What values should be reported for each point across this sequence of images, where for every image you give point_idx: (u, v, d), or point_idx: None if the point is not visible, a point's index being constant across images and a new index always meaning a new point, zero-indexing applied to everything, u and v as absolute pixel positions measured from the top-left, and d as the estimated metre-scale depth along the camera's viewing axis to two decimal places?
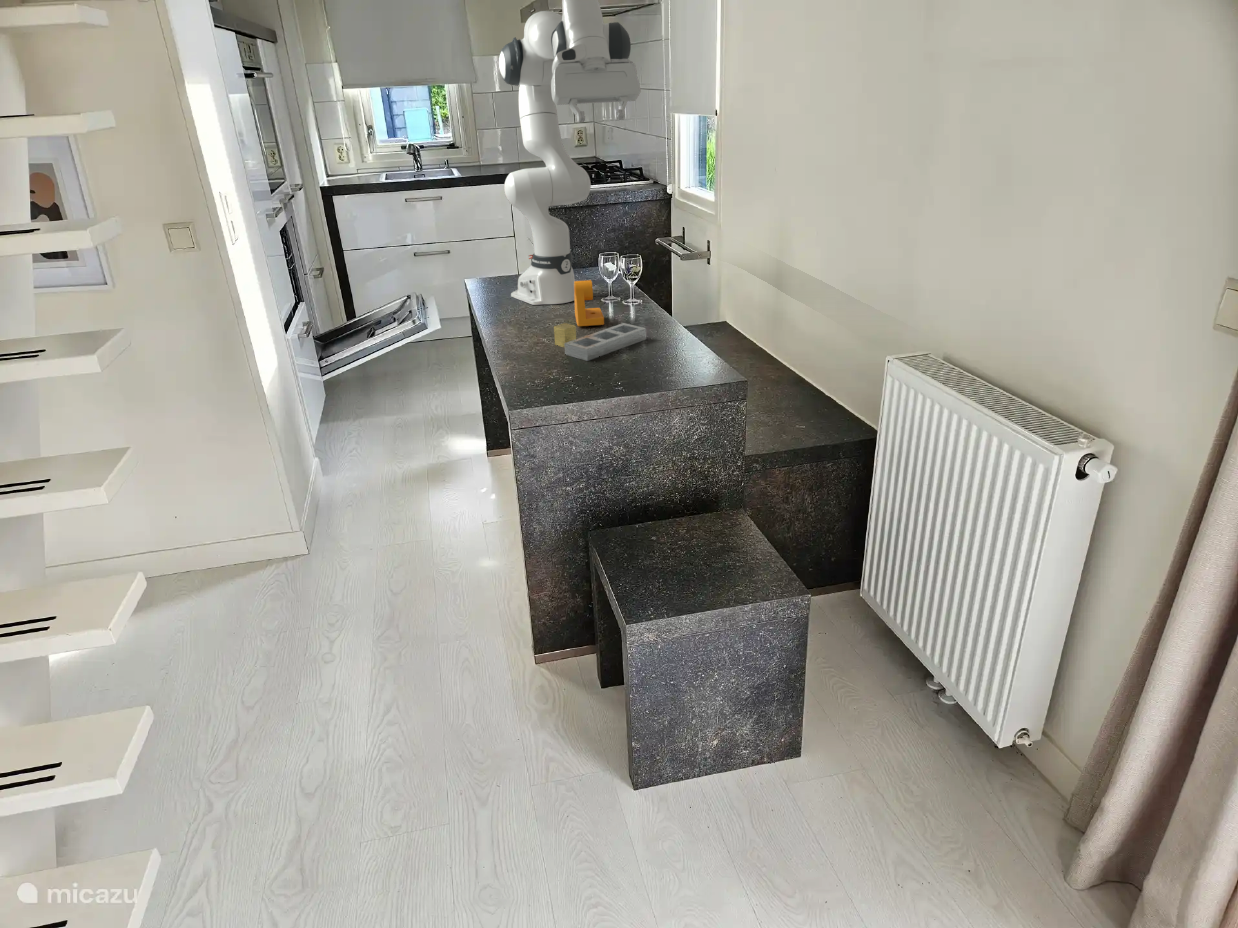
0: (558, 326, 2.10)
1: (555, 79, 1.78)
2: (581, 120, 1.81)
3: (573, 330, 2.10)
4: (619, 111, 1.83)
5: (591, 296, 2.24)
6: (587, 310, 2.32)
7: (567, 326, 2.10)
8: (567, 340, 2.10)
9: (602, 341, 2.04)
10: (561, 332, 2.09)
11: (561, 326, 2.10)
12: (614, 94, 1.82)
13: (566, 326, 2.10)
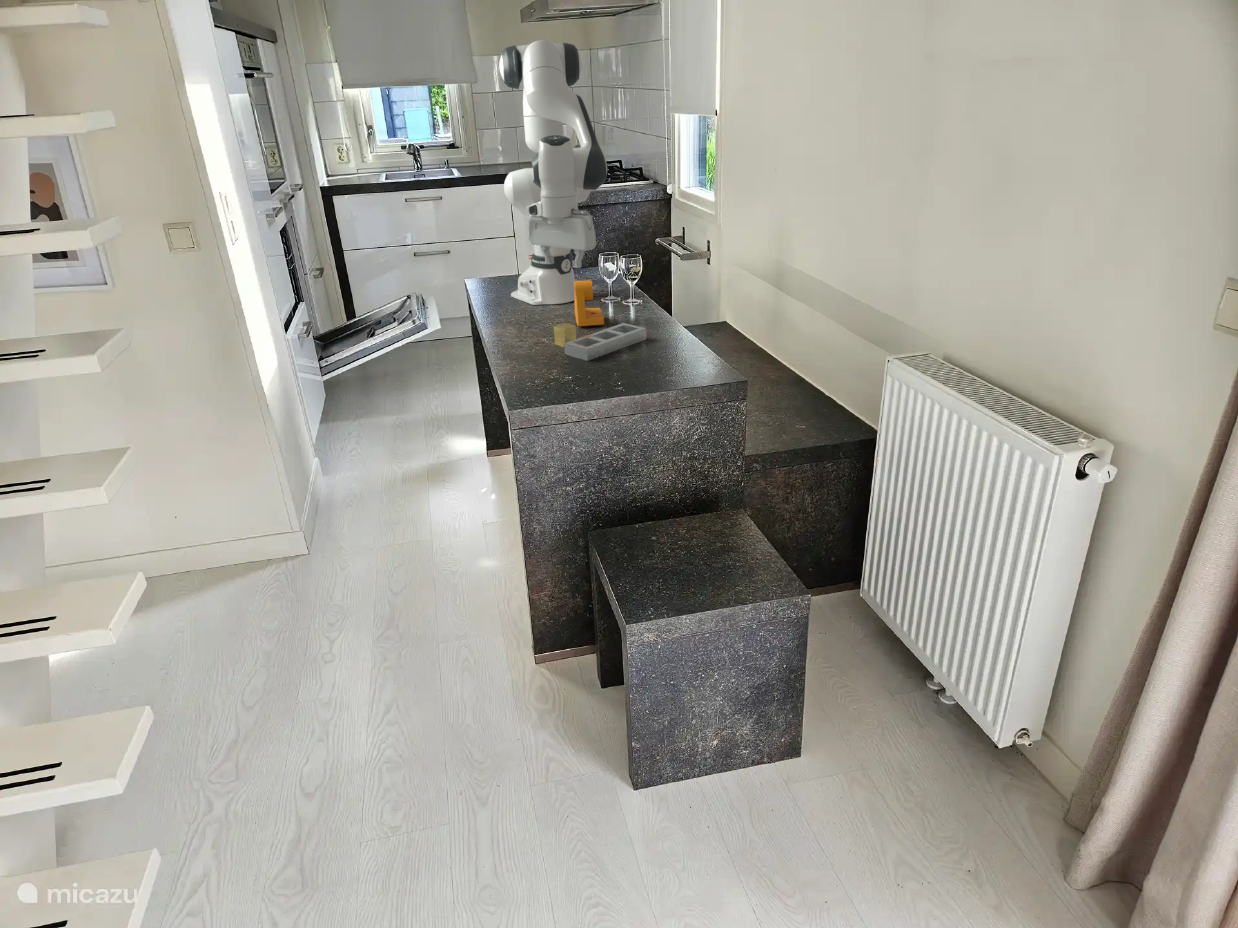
0: (558, 326, 2.10)
1: None
2: (549, 263, 2.05)
3: (573, 330, 2.10)
4: (572, 262, 1.99)
5: (591, 296, 2.24)
6: (587, 310, 2.32)
7: (567, 326, 2.10)
8: (567, 340, 2.10)
9: (602, 341, 2.04)
10: (561, 332, 2.09)
11: (561, 326, 2.10)
12: (567, 248, 1.97)
13: (566, 326, 2.10)
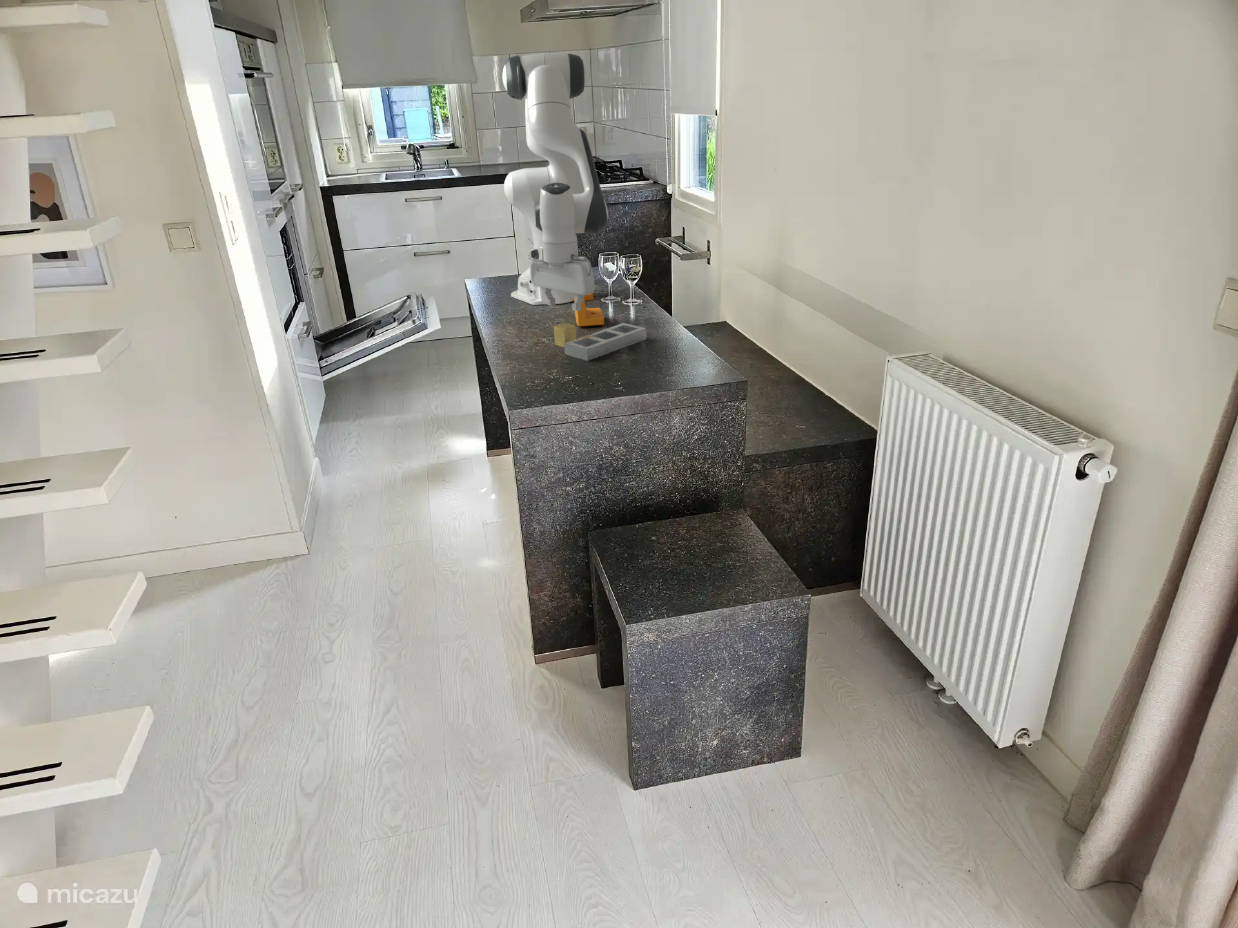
0: (558, 326, 2.10)
1: (530, 270, 2.09)
2: None
3: (573, 330, 2.10)
4: (572, 305, 2.04)
5: (591, 296, 2.24)
6: (587, 310, 2.32)
7: (567, 326, 2.10)
8: (567, 340, 2.10)
9: (602, 341, 2.04)
10: (561, 332, 2.09)
11: (561, 326, 2.10)
12: (567, 291, 2.02)
13: (566, 326, 2.10)
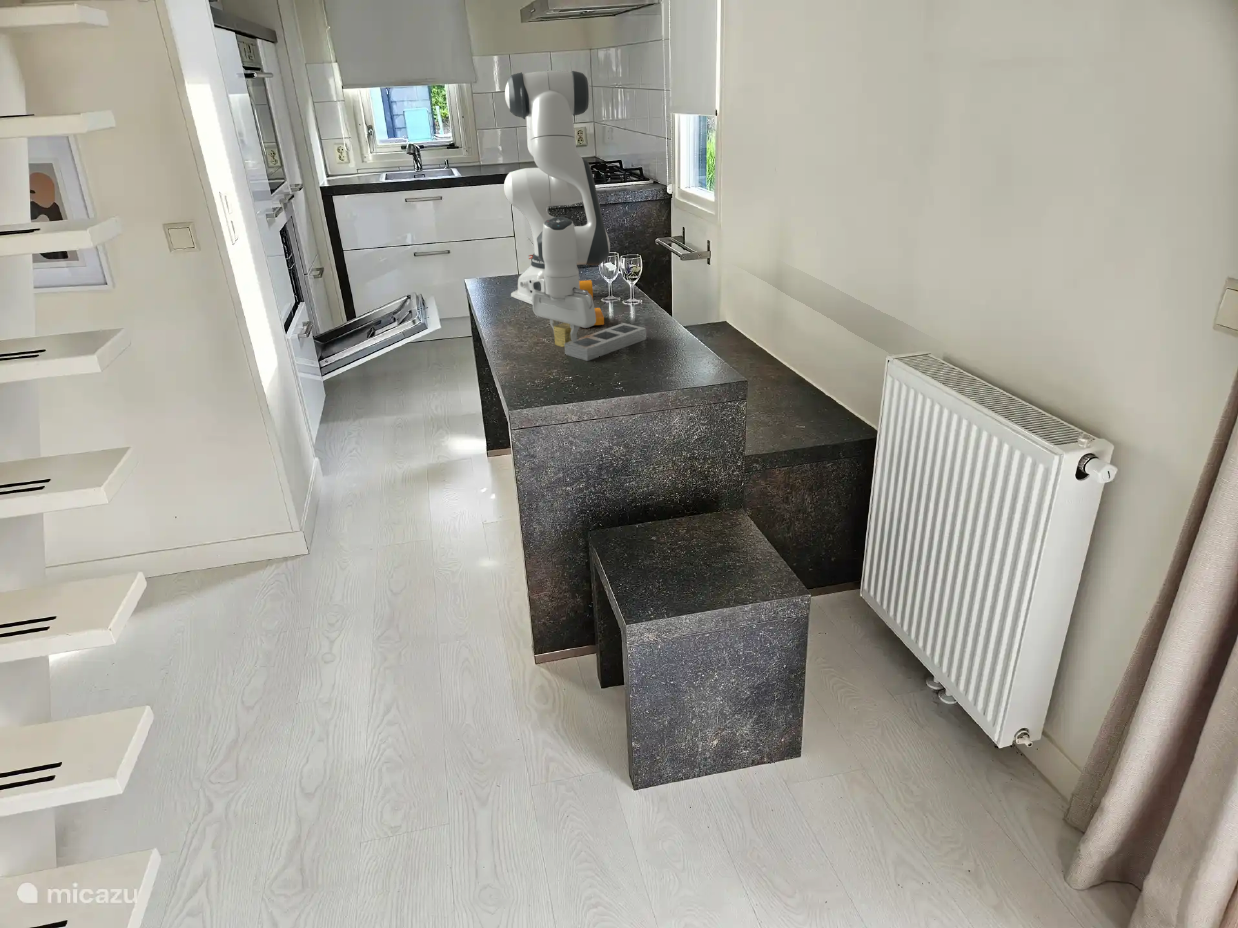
0: (558, 326, 2.10)
1: (532, 301, 2.13)
2: None
3: None
4: (568, 335, 2.09)
5: None
6: None
7: (567, 326, 2.10)
8: (567, 340, 2.10)
9: (602, 341, 2.04)
10: (561, 332, 2.09)
11: (561, 326, 2.10)
12: (569, 323, 2.06)
13: (566, 326, 2.10)
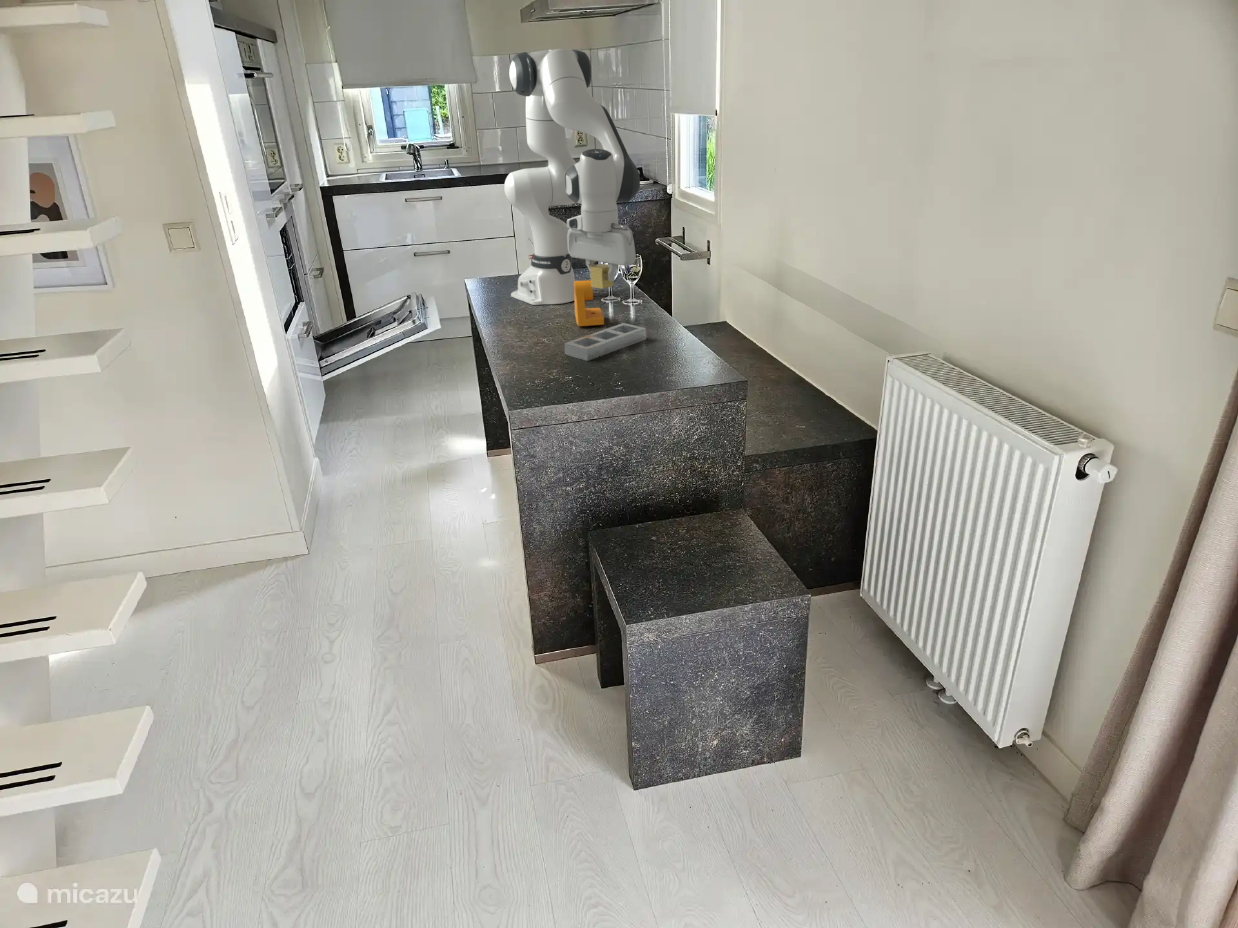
0: (595, 266, 2.00)
1: (567, 241, 2.03)
2: None
3: None
4: (606, 275, 1.99)
5: (591, 296, 2.24)
6: (587, 310, 2.32)
7: (604, 266, 2.00)
8: (604, 280, 2.00)
9: (602, 341, 2.04)
10: (598, 272, 1.99)
11: (598, 266, 2.00)
12: (607, 262, 1.96)
13: (603, 266, 2.00)
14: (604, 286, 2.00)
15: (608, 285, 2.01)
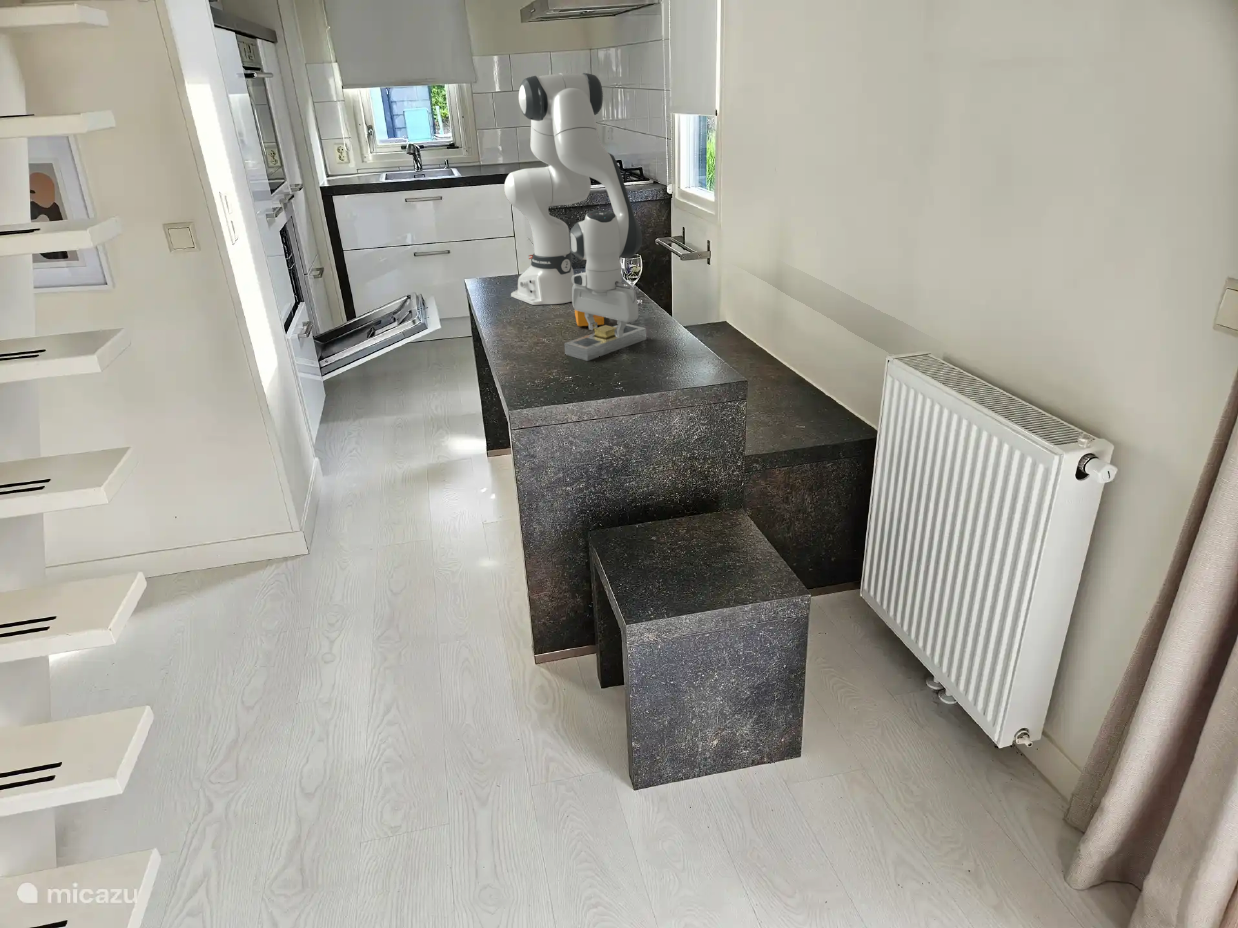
0: (599, 329, 2.07)
1: (572, 295, 2.09)
2: None
3: (614, 332, 2.07)
4: (615, 331, 2.04)
5: None
6: None
7: (608, 328, 2.07)
8: None
9: (602, 341, 2.04)
10: (602, 335, 2.06)
11: (602, 328, 2.07)
12: (610, 318, 2.03)
13: (607, 328, 2.07)
14: None
15: None
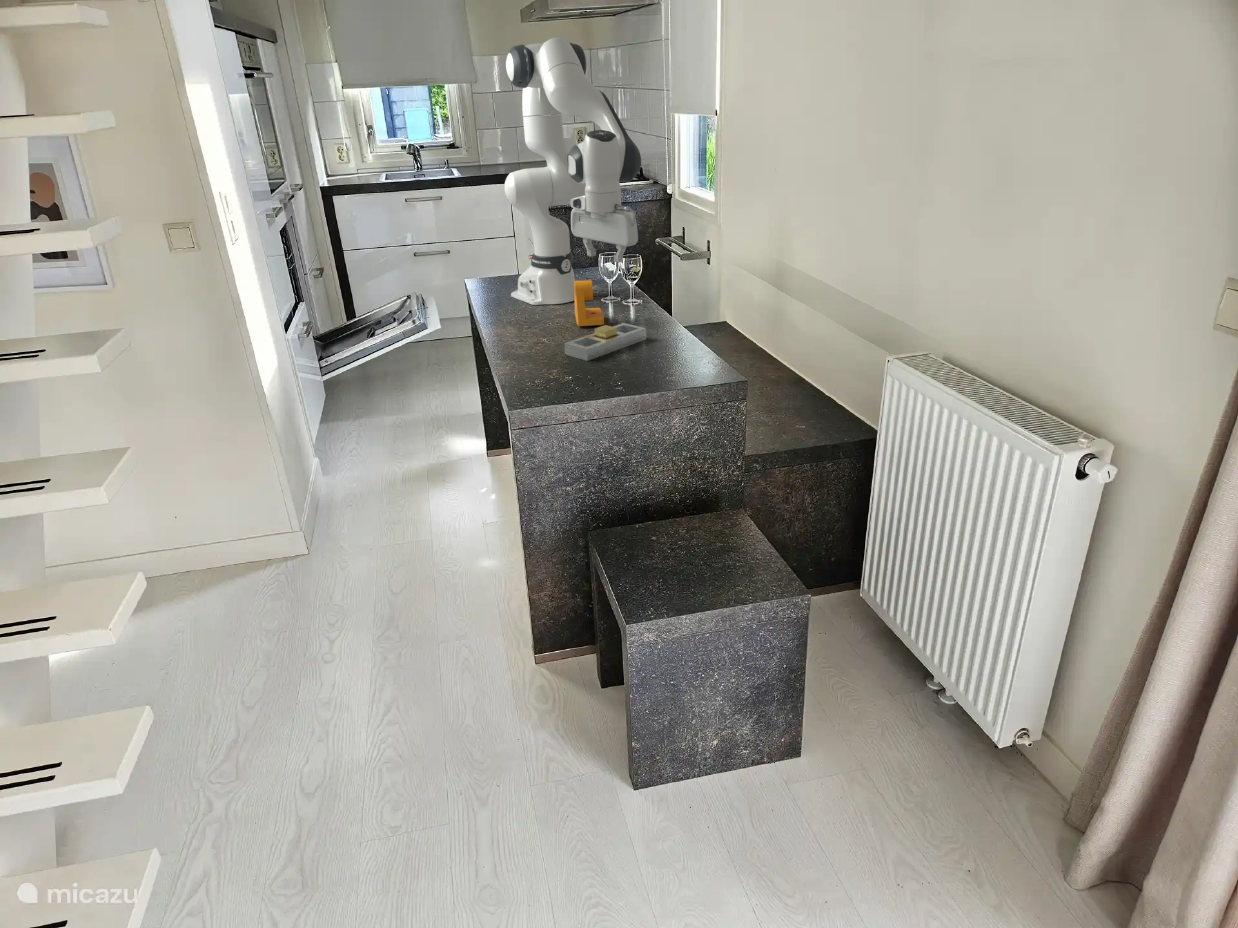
0: (599, 329, 2.07)
1: (571, 220, 2.06)
2: None
3: (614, 332, 2.07)
4: (614, 256, 2.02)
5: (591, 296, 2.24)
6: (587, 310, 2.32)
7: (608, 328, 2.07)
8: None
9: (602, 341, 2.04)
10: (602, 335, 2.06)
11: (602, 328, 2.07)
12: (609, 242, 2.00)
13: (607, 328, 2.07)
14: None
15: None
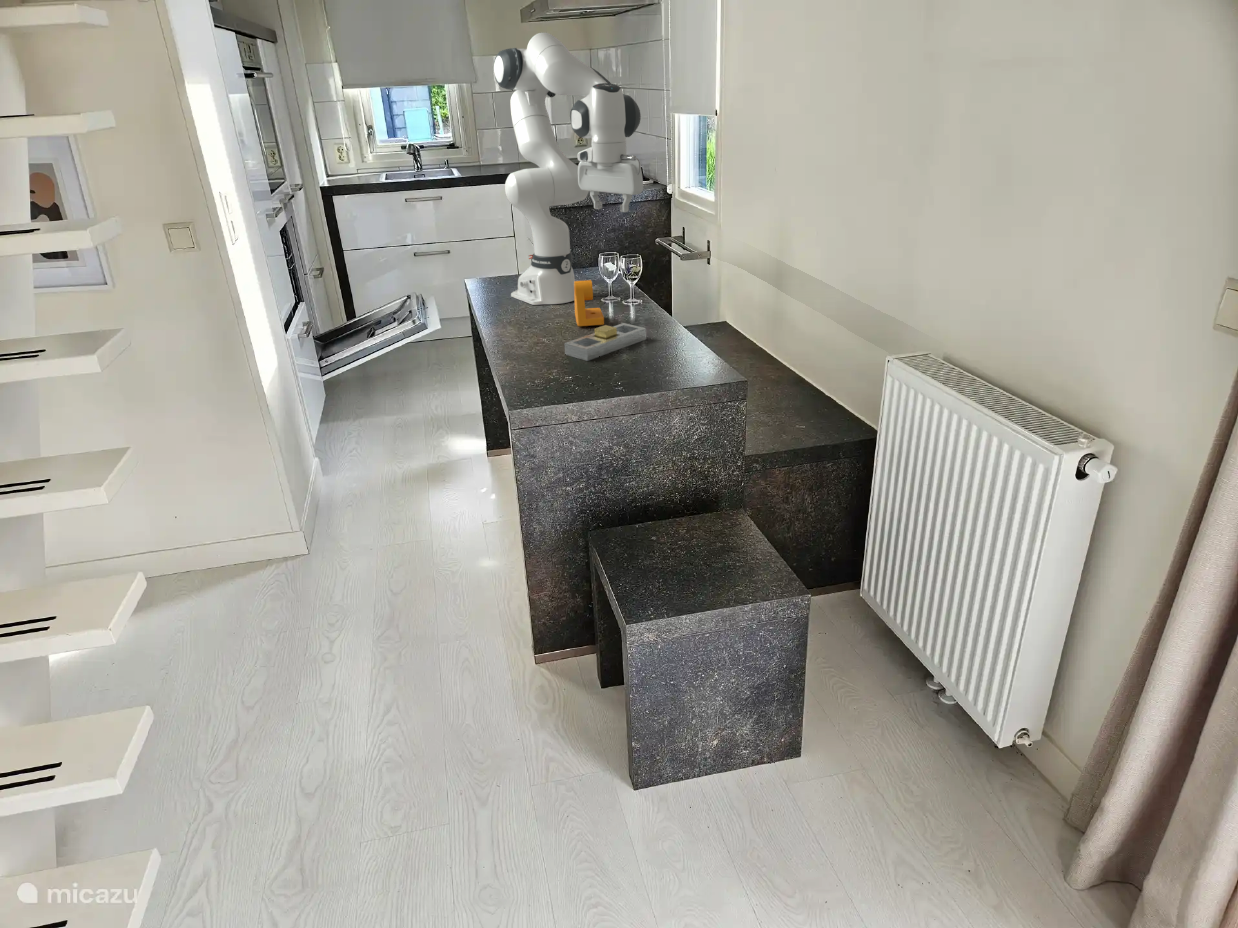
0: (599, 329, 2.07)
1: (578, 174, 2.13)
2: (597, 208, 2.15)
3: (614, 332, 2.07)
4: (620, 206, 2.09)
5: (591, 296, 2.24)
6: (587, 310, 2.32)
7: (608, 328, 2.07)
8: None
9: (602, 341, 2.04)
10: (602, 335, 2.06)
11: (602, 328, 2.07)
12: (616, 192, 2.07)
13: (607, 328, 2.07)
14: None
15: None
